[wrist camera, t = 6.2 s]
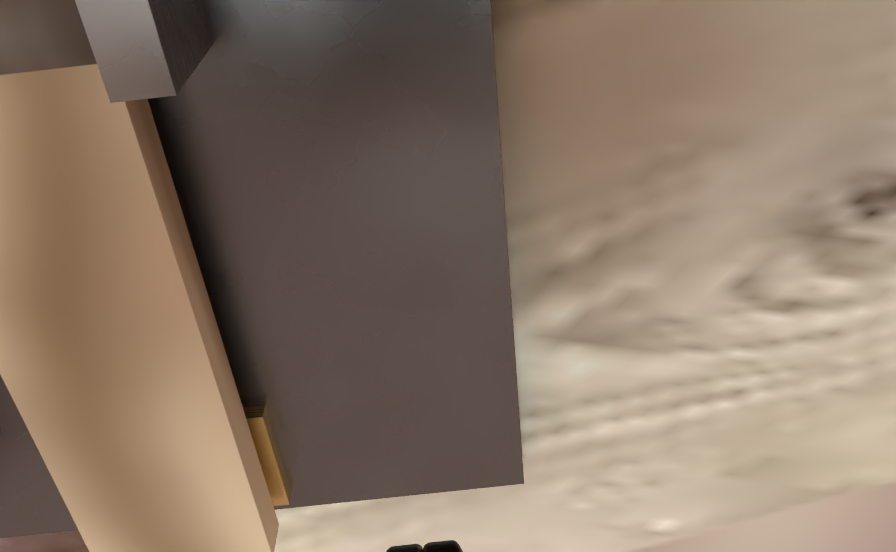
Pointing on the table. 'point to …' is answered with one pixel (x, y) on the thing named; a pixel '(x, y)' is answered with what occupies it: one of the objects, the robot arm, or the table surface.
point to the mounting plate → (328, 237)
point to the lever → (112, 310)
